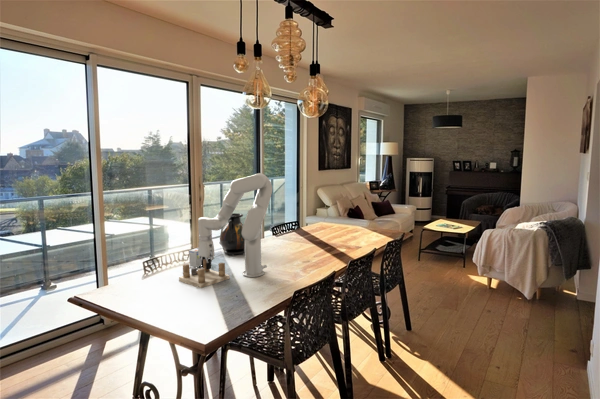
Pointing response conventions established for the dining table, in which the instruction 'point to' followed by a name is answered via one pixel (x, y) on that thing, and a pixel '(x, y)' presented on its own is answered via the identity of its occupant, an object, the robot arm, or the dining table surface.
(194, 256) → the light bulb box
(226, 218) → the robot arm
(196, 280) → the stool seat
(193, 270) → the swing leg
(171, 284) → the dining table surface
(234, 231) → the amphora vase
